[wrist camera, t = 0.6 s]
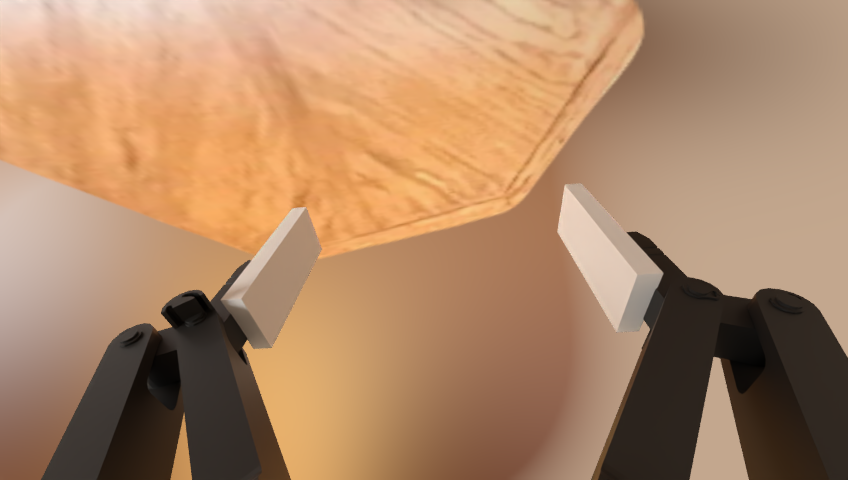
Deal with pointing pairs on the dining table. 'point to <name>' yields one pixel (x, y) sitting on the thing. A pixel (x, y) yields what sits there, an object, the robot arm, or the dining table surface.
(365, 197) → the dining table surface
